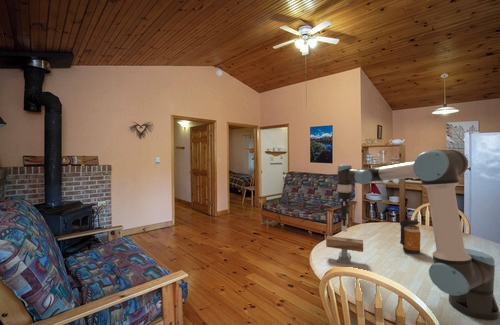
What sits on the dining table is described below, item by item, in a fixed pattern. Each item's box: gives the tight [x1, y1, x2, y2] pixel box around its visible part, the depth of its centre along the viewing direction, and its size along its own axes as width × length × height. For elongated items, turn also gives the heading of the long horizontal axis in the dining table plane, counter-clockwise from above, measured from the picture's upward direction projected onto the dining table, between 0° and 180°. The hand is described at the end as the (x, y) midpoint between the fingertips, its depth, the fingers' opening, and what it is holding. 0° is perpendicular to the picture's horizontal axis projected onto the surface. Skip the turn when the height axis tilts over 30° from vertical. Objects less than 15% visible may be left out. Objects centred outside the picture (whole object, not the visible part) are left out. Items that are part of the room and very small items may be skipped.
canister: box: [399, 219, 422, 254], centre depth 153 cm, size 9×11×20 cm
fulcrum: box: [337, 249, 351, 265], centre depth 144 cm, size 12×6×7 cm, turn 156°
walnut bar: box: [325, 235, 364, 253], centre depth 144 cm, size 5×20×5 cm, turn 66°
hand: (344, 227), depth 143 cm, fingers open, 13 cm apart
